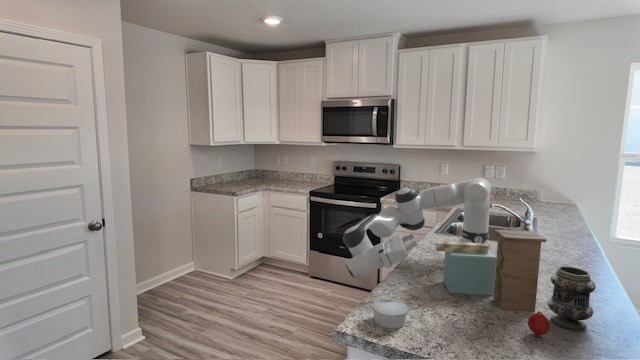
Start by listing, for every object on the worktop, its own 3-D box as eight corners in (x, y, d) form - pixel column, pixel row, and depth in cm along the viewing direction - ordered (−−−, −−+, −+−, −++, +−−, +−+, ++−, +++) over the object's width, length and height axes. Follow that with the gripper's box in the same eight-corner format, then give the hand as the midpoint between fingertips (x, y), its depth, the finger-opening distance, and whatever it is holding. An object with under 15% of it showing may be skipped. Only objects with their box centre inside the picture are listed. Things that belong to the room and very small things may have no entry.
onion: (528, 328, 114) (530, 304, 113) (550, 335, 110) (552, 310, 109) (525, 336, 110) (527, 311, 108) (547, 343, 106) (549, 317, 105)
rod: (437, 250, 142) (437, 243, 141) (435, 248, 145) (436, 241, 144) (488, 253, 139) (488, 245, 139) (485, 250, 142) (486, 243, 142)
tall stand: (489, 297, 135) (494, 229, 132) (526, 299, 134) (532, 231, 130) (499, 310, 125) (504, 237, 122) (539, 313, 124) (546, 239, 120)
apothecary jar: (593, 323, 118) (599, 270, 115) (588, 338, 109) (595, 281, 106) (549, 310, 126) (554, 260, 123) (542, 324, 117) (547, 270, 114)
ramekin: (394, 310, 125) (395, 296, 124) (414, 327, 114) (415, 311, 114) (365, 316, 121) (366, 301, 120) (383, 334, 110) (384, 317, 110)
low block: (443, 281, 150) (445, 245, 148) (484, 283, 148) (486, 247, 146) (449, 292, 139) (451, 254, 137) (493, 295, 137) (496, 257, 135)
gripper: (386, 252, 157) (415, 238, 154) (388, 270, 136) (422, 254, 134) (379, 239, 156) (408, 225, 154) (380, 255, 136) (414, 239, 134)
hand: (414, 239), depth 144 cm, fingers open, 8 cm apart
